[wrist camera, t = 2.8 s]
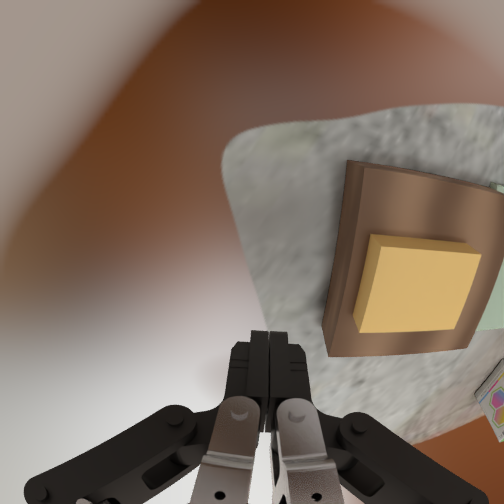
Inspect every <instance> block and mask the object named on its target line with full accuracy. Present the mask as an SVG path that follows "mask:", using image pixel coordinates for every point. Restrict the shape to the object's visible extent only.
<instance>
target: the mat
mask: <svg viewBox="0 0 504 504" xmlns="http://www.w3.org/2000/svg"><path fill="white" fill-rule="evenodd" d="M490 188H492V189H494V190H497V191H499V192H501V193H504V186H502V185H498V184H495V183H492V182H491V184H490ZM499 328H504V259H503V262H502V265H501V268H500V271H499V274H498V277H497V280H496V283H495V286H494V288H493V291H492V293H491V296H490V299H489V301H488V303H487V306H486V308H485V311H484V313H483V315H482V318H481V320H480V322H479V324H478V326H477V329H476V331H482V330H491V329H499Z"/></svg>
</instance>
